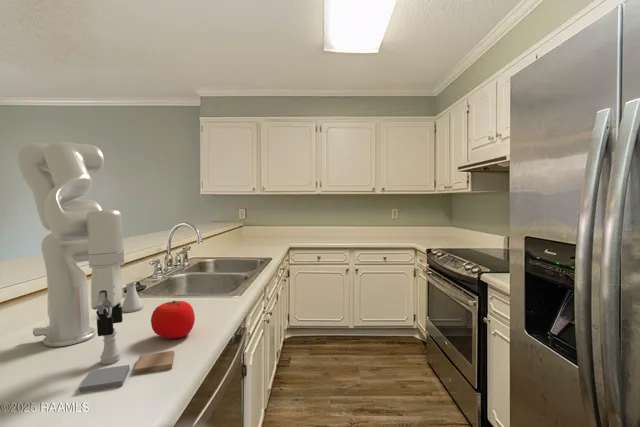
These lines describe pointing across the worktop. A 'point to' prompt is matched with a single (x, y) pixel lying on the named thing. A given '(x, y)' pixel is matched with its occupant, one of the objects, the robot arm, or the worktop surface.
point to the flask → (131, 299)
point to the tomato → (173, 319)
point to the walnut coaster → (154, 362)
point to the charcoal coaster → (104, 378)
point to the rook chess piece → (110, 350)
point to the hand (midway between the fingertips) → (110, 328)
